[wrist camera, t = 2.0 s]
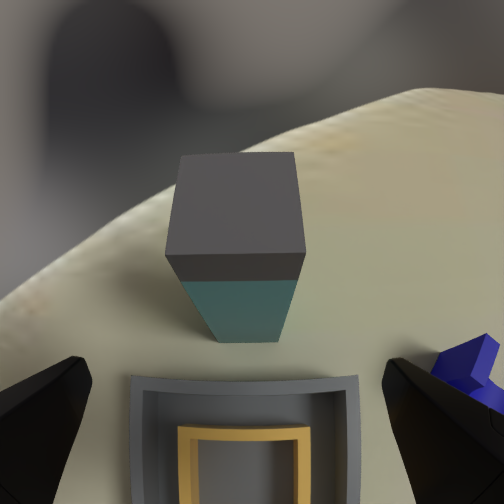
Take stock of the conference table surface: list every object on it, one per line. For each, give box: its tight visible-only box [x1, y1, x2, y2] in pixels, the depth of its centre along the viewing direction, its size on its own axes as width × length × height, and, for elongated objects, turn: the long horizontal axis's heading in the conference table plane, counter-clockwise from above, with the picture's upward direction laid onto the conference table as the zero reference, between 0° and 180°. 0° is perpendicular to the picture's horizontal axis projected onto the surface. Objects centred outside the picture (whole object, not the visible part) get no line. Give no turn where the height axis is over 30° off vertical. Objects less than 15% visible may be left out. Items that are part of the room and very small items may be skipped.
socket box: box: [129, 375, 361, 504], centre depth 14 cm, size 13×13×4 cm
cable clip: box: [430, 333, 504, 415], centre depth 14 cm, size 12×4×6 cm, turn 51°
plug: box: [165, 152, 306, 343], centre depth 15 cm, size 4×4×13 cm
